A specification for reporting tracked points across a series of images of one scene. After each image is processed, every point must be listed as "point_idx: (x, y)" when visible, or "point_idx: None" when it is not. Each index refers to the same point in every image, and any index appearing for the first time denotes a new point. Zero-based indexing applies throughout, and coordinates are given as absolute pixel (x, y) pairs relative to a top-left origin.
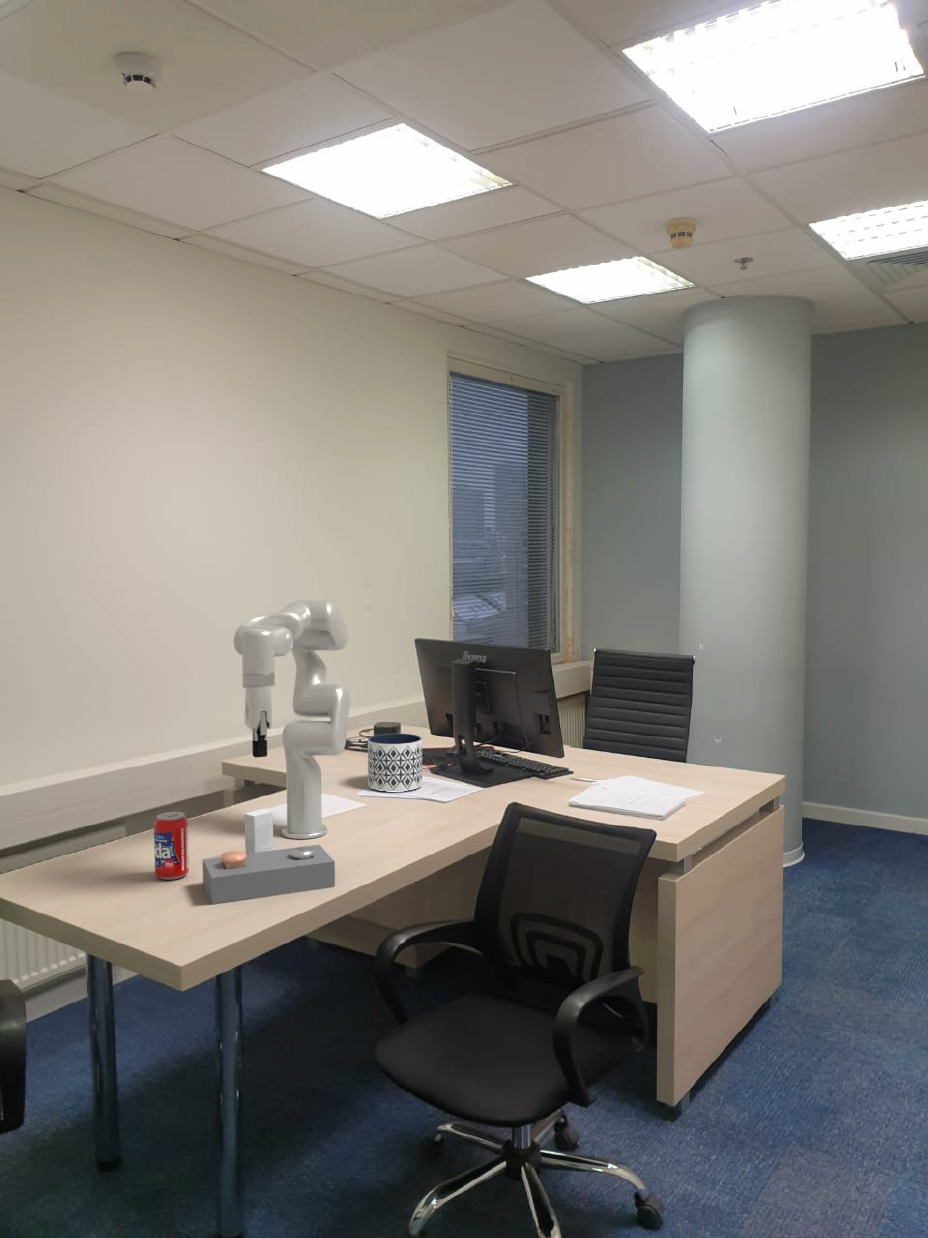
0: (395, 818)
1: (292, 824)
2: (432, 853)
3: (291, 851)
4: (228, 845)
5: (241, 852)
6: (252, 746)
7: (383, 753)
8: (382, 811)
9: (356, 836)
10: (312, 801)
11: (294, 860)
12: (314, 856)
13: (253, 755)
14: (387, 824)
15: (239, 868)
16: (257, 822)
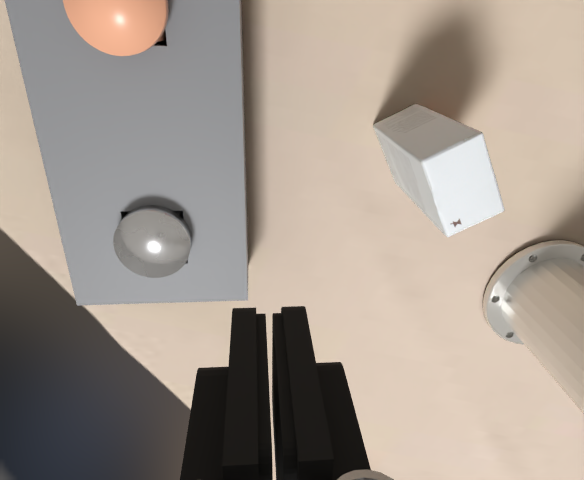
0: (508, 464)
1: (547, 277)
2: None
3: (154, 216)
4: (577, 80)
5: (141, 42)
6: (313, 379)
7: None
8: (571, 455)
9: (439, 381)
10: (552, 366)
11: (116, 209)
12: None
13: (253, 313)
14: (480, 445)
15: None
16: (416, 167)
